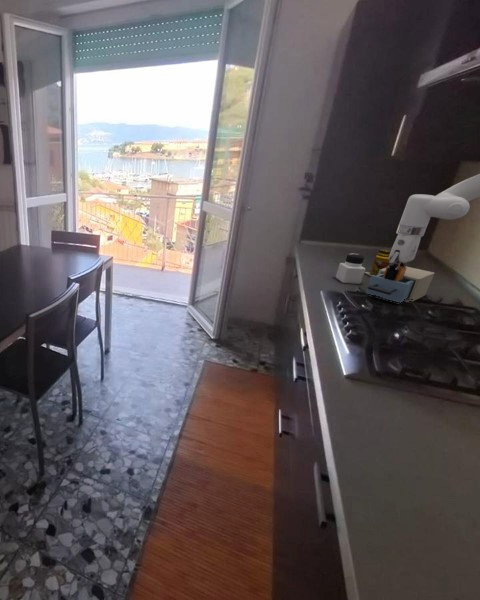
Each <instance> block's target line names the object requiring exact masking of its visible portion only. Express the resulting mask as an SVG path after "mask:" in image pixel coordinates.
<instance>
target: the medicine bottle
mask: <svg viewBox="0 0 480 600" xmlns="http://www.w3.org/2000/svg"><path fill="white" fill-rule="evenodd" d="M364 260H365V256H364V255H362V254H360V253H348V254H347V255H346V258H345V261H344V262H339V265H338V267H337V271H336V275H335V278H336V279H337V280H338V281H340V282H341V283H342V284H353V285H354V284H358V285H362V281H363V280H364V279H363V278H364V276H365V274H366V273H365V272H366V269H367V268H365V267H364V266H363V263H364Z"/></svg>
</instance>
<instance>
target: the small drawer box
mask: <svg viewBox="0 0 480 600" xmlns="http://www.w3.org/2000/svg"><path fill="white" fill-rule="evenodd" d="M385 270H386V268H384V269H381V270H379V273H378V275H380V274H382V273H385ZM434 275H435V272H433V271H429V270H424V269H420V268H414V267H410V266H406V271H405V274H404V276H403V278H407V279H411V280H416V282H415V284H414V287H413V289H412V292H411V294H410V297H409V298H407V299H405V300H403V301H402V302H405V303H409V301H412V302H414V301H417V300H418V299H421V298H423V297H425V296H426V294H427V293H428V290H429V287H430V285H431V283H432V280H433V278H434ZM408 299H413V300H408Z"/></svg>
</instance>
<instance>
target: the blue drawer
mask: <svg viewBox="0 0 480 600" xmlns="http://www.w3.org/2000/svg"><path fill="white" fill-rule="evenodd" d="M383 275H384V273H382V274H380V275H377V276H374V275H372V276H370V279H369V282H368V285H367V288H366V291H365V293H367V294H371V295H376V296H380V297H383V298H386V299H389V300H393V301H396V302H400V303H401V302H402V303H401V304H399V303H397V304H398V305H402V304H403V302H404V301H403V300H404V299H406V298H409V297H410V294H411V292H412V289H413V287H414V284H415V282H416V280H411V279H407V278H403V279H402V280H399V281H394V280H389V279H385V278H383ZM367 294H365V295H367ZM371 295H369V297H372V296H371ZM367 296H368V295H367ZM376 298H377V299H381V298H378V297H376ZM381 300H382V299H381ZM383 300H384V301H387V302H389V301H388V300H385V299H383ZM390 302H391V303H394V304H396V303H395V302H392V301H390Z"/></svg>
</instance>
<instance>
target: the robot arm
mask: <svg viewBox="0 0 480 600" xmlns="http://www.w3.org/2000/svg"><path fill="white" fill-rule="evenodd" d="M478 198H480V173H478V174H476V175H474V176H470V177H468V178H466V179H464V180H462V181H460V182H458V183H455V184H454V185H452V186H450V187H449V188H447V189H445V190H443V191H441V192H439V193H437V194H436V195H432V194H424V193H423V194H421V193H419V194H418V193H415V194H412V195H410V196H409V197H408V199H407V202H406V204H405V207H404V210H403V213H402V215H401V218H400V221H399V224H398V226H397V229H396V232H395V234H397V236H396V238H395V241H394V242H393V245H392V247H391V249H390V250H391V252H390V255H389V260H390V261H389V266H388V269H387V272H386V274H385V277H384V278H385V279H389V280H395V279H396V276H397V274H398V271H399V270H398V268H399V266H401V267H407V264H408V263H409V262H412V261H413V260H415V258H416V255H417V251H418V250H419V246H420V243H421V239H422V237H424V235H425V233H426V230H427V227H428V225H429V224H430V223H429V222H430V220H431V218H436V219H441V220H450V221H451V220H457V219H460V218H462V217H464V216H465V215H467V214H468V213H469V211H470V207H471V206H470V201H473V200H475V199H478ZM396 265H397V266H396Z"/></svg>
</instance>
